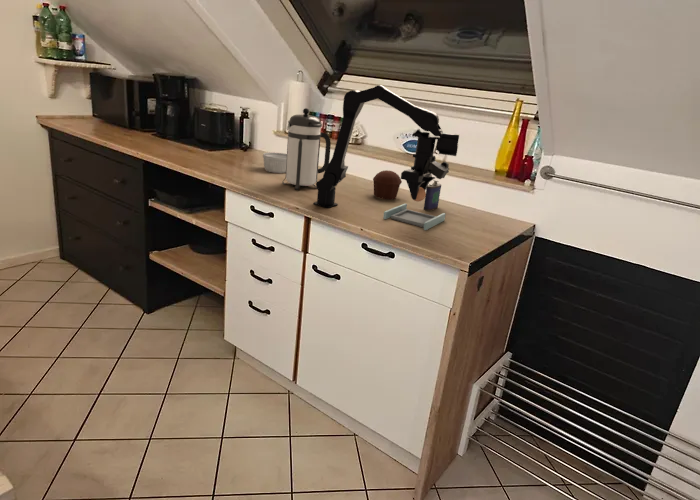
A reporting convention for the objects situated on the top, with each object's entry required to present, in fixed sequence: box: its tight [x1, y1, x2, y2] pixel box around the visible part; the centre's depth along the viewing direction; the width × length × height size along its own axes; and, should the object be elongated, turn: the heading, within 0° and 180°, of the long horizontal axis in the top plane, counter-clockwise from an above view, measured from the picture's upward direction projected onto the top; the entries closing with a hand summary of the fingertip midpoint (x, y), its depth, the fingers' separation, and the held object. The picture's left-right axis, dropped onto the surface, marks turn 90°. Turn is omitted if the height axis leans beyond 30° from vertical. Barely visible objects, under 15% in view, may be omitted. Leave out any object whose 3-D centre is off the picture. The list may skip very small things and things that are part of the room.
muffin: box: [372, 169, 402, 200], centre depth 193 cm, size 12×11×10 cm
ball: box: [410, 187, 426, 203], centre depth 165 cm, size 5×5×5 cm
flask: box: [423, 179, 442, 212], centre depth 183 cm, size 9×3×11 cm, turn 144°
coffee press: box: [282, 107, 332, 191], centre depth 192 cm, size 17×16×30 cm
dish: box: [390, 208, 437, 228], centre depth 168 cm, size 12×12×1 cm
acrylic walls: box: [382, 203, 447, 231], centre depth 168 cm, size 16×16×2 cm
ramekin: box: [262, 151, 287, 174], centre depth 218 cm, size 13×13×7 cm
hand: (417, 198), depth 165 cm, fingers closed on ball, 5 cm apart
